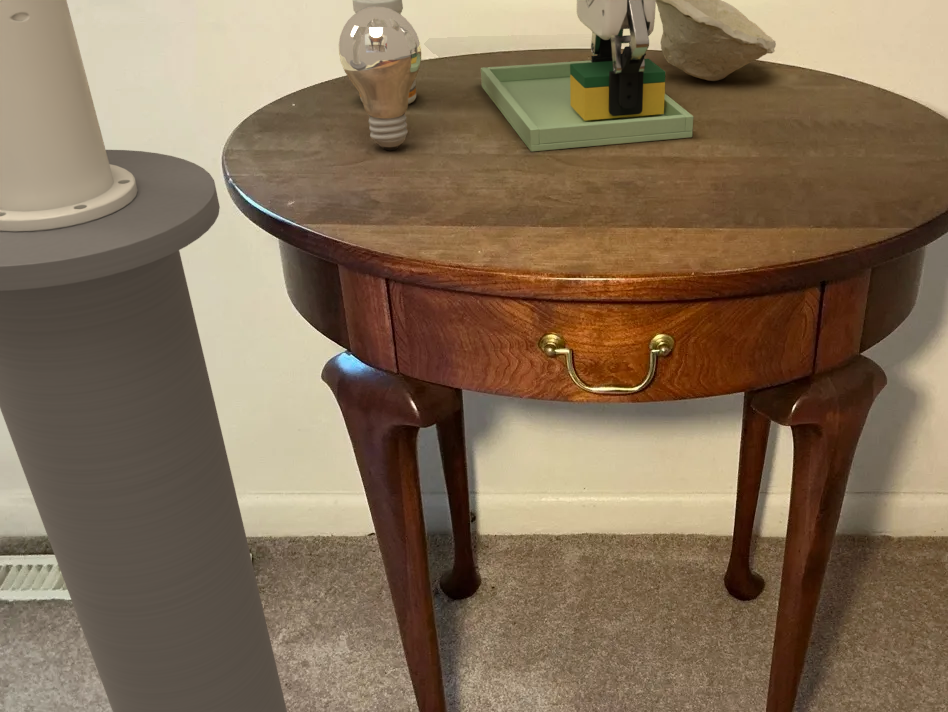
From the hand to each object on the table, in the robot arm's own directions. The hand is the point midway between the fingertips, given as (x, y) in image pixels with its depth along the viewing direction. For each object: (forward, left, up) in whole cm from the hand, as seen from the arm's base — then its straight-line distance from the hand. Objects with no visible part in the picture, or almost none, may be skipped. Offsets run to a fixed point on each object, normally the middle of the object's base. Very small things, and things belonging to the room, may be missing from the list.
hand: (616, 103), depth 102 cm
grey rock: (+14, +12, -2) cm, 19 cm away
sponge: (0, 0, -1) cm, 1 cm away
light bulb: (-22, -3, -2) cm, 23 cm away
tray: (-3, +4, -2) cm, 5 cm away
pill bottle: (-21, +12, -2) cm, 24 cm away
